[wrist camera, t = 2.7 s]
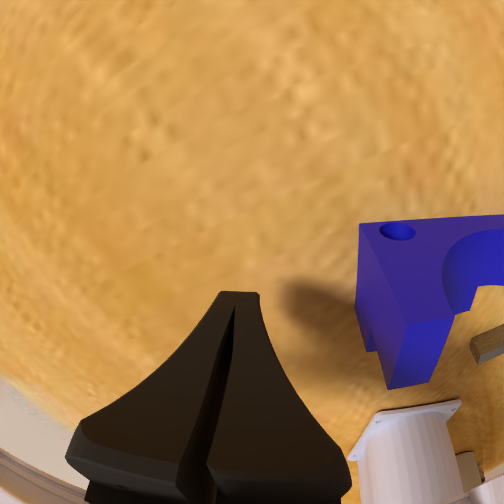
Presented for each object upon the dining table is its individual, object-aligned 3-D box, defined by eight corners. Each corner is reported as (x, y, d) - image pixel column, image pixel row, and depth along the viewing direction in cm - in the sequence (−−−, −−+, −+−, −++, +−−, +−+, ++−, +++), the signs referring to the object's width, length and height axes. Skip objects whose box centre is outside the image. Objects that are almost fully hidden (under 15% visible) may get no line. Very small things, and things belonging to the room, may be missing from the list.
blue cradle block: (354, 306, 14) (379, 412, 9) (358, 222, 12) (406, 324, 7) (529, 278, 13) (579, 345, 8) (548, 211, 11) (615, 271, 5)
